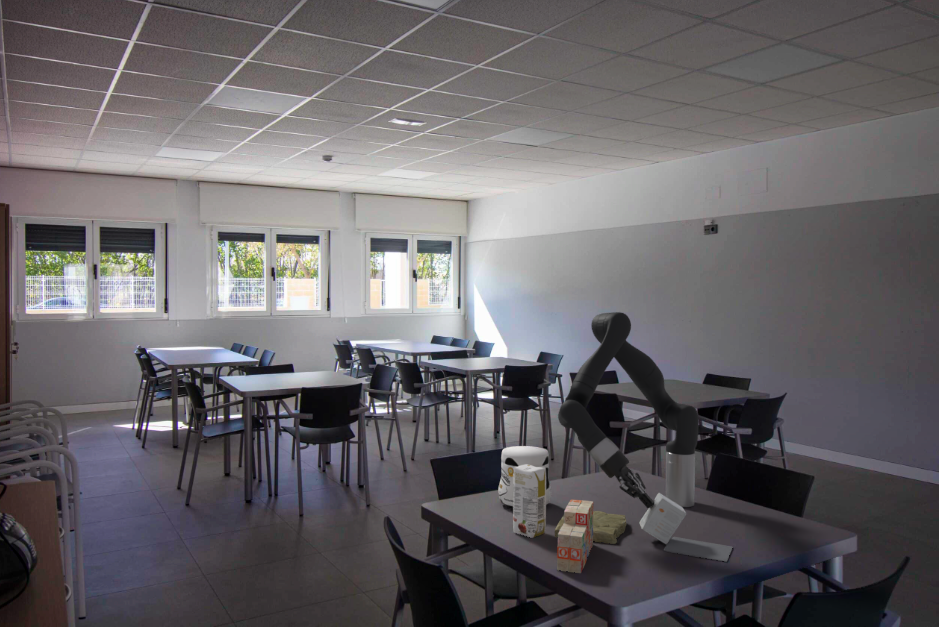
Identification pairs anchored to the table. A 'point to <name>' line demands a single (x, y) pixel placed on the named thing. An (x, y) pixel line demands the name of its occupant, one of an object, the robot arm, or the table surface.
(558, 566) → the stack of blocks
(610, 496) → the table surface
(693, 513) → the table surface
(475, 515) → the table surface
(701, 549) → the mat
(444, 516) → the table surface
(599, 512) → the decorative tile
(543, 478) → the juice carton
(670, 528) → the small box
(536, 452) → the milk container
